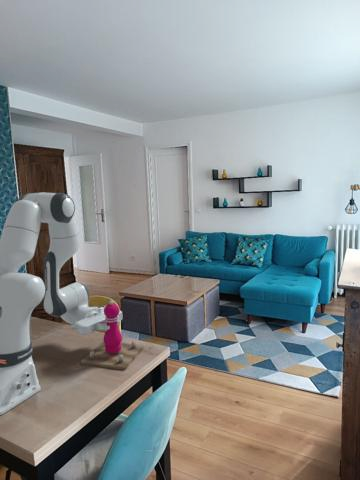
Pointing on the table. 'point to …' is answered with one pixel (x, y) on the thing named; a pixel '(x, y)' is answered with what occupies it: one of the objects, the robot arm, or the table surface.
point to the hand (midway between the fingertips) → (113, 325)
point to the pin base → (113, 356)
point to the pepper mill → (112, 329)
